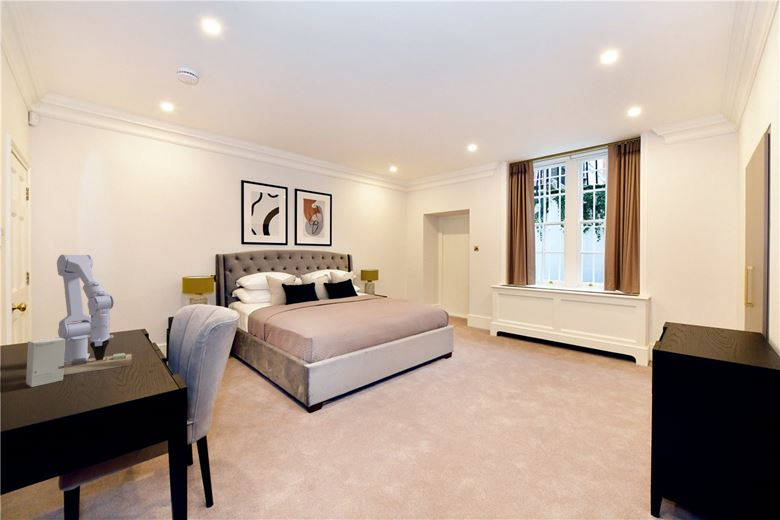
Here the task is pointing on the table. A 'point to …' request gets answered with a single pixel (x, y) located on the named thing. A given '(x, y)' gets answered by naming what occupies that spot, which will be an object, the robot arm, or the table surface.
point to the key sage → (119, 356)
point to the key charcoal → (79, 361)
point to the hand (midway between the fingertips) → (99, 359)
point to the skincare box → (45, 361)
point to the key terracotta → (99, 360)
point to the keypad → (96, 365)
